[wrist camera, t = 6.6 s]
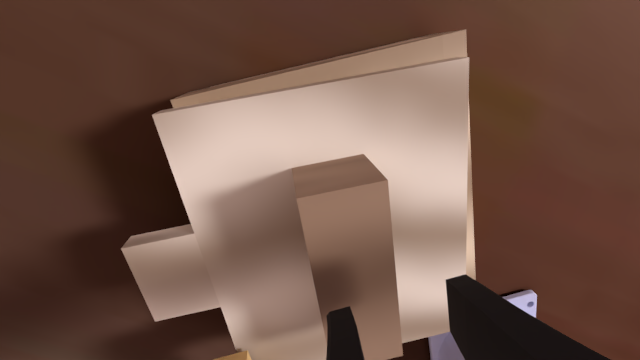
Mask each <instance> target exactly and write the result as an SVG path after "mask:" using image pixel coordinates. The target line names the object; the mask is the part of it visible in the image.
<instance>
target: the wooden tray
mask: <svg viewBox="0 0 640 360" xmlns="http://www.w3.org/2000/svg"><path fill="white" fill-rule="evenodd" d="M454 57H467V42H466V30H459V31H451V32H444V33H436V34H430V35H426V36H422V37H418V38H414V39H409V40H405V41H401V42H397V43H393V44H388V45H384V46H380V47H376V48H372V49H367V50H363V51H359V52H355V53H351V54H346V55H342V56H338V57H334V58H330V59H325V60H321V61H317V62H313V63H309V64H304V65H300V66H296V67H292V68H288V69H284V70H279V71H275V72H271V73H267V74H263V75H258V76H254V77H250V78H246V79H242V80H237V81H233V82H229V83H225V84H221V85H216V86H212V87H208V88H204V89H200V90H195V91H191V92H188V93H186V94H183V95H181V96H179V97H176V98H174V99H172V100H170V101H171V103H172V106H173V108H177V107H183V106H188V105H194V104H199V103H205V102H210V101H216V100H222V99H227V98H233V97H238V96H244V95H249V94H255V93H260V92H266V91H271V90H277V89H283V88H288V87H294V86H299V85H305V84H310V83H316V82H321V81H327V80H332V79H338V78H343V77H349V76H355V75H360V74H366V73H371V72H377V71H382V70H388V69H393V68H399V67H404V66H410V65H416V64H421V63H427V62H432V61H438V60H443V59H449V58H454ZM466 275H468V276H469V277H471V278H473V279H474V280H476V277H475V251H474V225H473V199H472V173H471V146H470V120H469V102H468V171H467V239H466Z"/></svg>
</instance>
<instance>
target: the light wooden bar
mask: <svg viewBox="0 0 640 360" xmlns="http://www.w3.org/2000/svg"><path fill="white" fill-rule="evenodd" d="M214 360H251V357H250V355H249V352H248V350H247V351H243V352H239V353H236V354H232V355H229V356H225V357H221V358H218V359H214Z"/></svg>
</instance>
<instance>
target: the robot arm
mask: <svg viewBox="0 0 640 360" xmlns="http://www.w3.org/2000/svg"><path fill="white" fill-rule="evenodd" d="M446 290H447V302H448V314H449V326H450V332H447V333H443V334H439V335H435V336H431V337H428V340H429V348H430V357H431V360H610V359H608V358H606V357H604V356H602V355H600V354H599V353H597V352H595V351H593V350H591V349H589V348H587V347H586V346H584V345H582V344H580V343H578V342H576V341H575V340H573V339H571V338H569V337H567V336H566V335H564V334H562V333H560V332H559V331H557V330H555V329H553V328H552V327H550V326H548V325H547V324H545V323H543V322H542V321H540V320H538V319H537V318H536V305H537V295H536V294H535V293H534V292H533V291H532V290H526V291H522V292H519V293H515V294H512V295H508V296H505V297H501V296H499V295H498V294H496V293H494V292H493V291H491V290H490V289H488V288H487V287H485V286H484V285H482V284H480V283H479V282H477V281H476V280H474V279H473V278H471V277H469V276H468V275H466V274H465V275H461V276H457V277H454V278H450V279H446ZM326 317H327V355H326V360H365V359H364V355H363V351H362V346H361V342H360V338H359V333H358V329H357V325H356V322H355V319H354V316H353V313H352V310H351V308H350V306H348V307H345V308H341V309H337V310H334V311H330V312H329V313H328V314H327V316H326Z"/></svg>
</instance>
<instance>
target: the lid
mask: <svg viewBox="0 0 640 360" xmlns="http://www.w3.org/2000/svg"><path fill="white" fill-rule="evenodd" d="M468 102H469V57H454V58H449V59H443V60H438V61H432V62H427V63H421V64H416V65H410V66H404V67H399V68H393V69H388V70H382V71H377V72H371V73H366V74H360V75H355V76H349V77H343V78H338V79H332V80H327V81H321V82H316V83H310V84H305V85H299V86H294V87H288V88H283V89H277V90H271V91H266V92H260V93H255V94H249V95H244V96H238V97H233V98H227V99H222V100H216V101H210V102H205V103H199V104H194V105H188V106H183V107H177V108H172V109H166V110H161V111H159V112H157V113H155V114H153V115H152V117H153V119H154V122H155V125H156V128H157V131H158V133H159V136H160V139H161V142H162V145H163V147H164V150H165V153H166V156H167V159H168V161H169V164H170V167H171V170H172V173H173V175H174V178H175V181H176V184H177V187H178V189H179V192H180V195H181V198H182V200H183V203H184V206H185V209H186V212H187V214H188V217H189V220H190V223H191V224H188V225H183V226H178V227H173V228H168V229H163V230H158V231H154V232H149V233H144V234H139V235H134V236H131V237H130V238H129V239H128V240H127V242H126V243H125V244H124V245H123V247H122V248H121V250H122V252H123V254H124V256H125V259H126V261H127V263H128V265H129V267H130V269H131V271H132V273H133V276H134V278H135V280H136V282H137V284H138V286H139V288H140V291H141V293H142V295H143V297H144V299H145V301H146V303H147V306H148V308H149V310H150V312H151V314H152V316H153V318H154V320H155V322H156V321H160V320H165V319H169V318H174V317H178V316H183V315H187V314H192V313H196V312H201V311H205V310H210V309H214V308H219V307H221V310H222V312H223V315H224V318H225V321H226V323H227V326H228V329H229V332H230V335H231V337H232V340H233V343H234V346H235V349H236V351H237V353H239V352H243V351H247V350H248V352H249V355H250V357H251V360H326V355H327V317H326V316H327V314H328V313H329V312H330V311H334V310H337V309H341V308H345V307H348V306H350V308H351V310H352V313H353V316H354V319H355V322H356V325H357V329H358V333H359V338H360V342H361V346H362V351H363V355H364V359H365V360H387V359H392V358H396V357H400V356H403V349H402V343H405V342H410V341H414V340H418V339H422V338H426V337H431V336H435V335H439V334H443V333H447V332H450V326H449V314H448V302H447V290H446V279H450V278H454V277H457V276H461V275H465V274H466V239H467V171H468Z"/></svg>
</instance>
